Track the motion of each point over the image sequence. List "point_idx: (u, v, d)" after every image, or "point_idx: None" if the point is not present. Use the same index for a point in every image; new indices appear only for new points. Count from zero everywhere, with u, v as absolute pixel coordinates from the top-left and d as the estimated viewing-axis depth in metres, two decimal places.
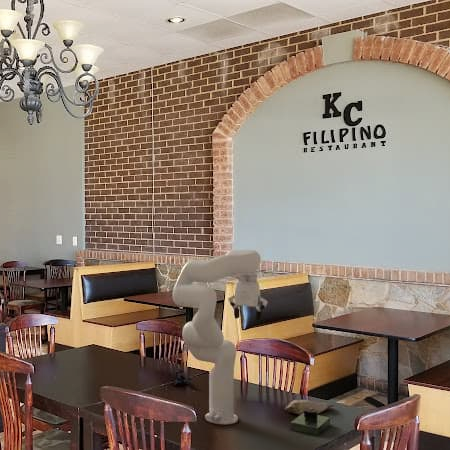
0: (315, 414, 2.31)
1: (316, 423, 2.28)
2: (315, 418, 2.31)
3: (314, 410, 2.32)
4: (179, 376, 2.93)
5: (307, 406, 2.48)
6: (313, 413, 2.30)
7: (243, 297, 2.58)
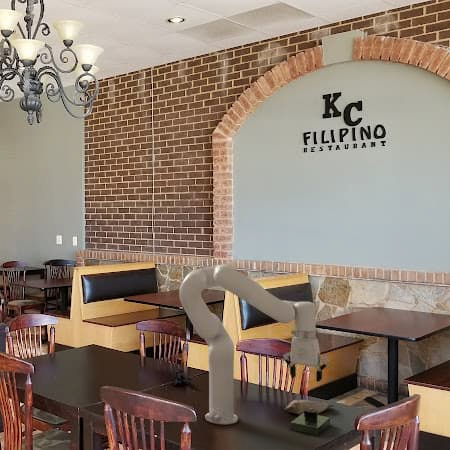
0: (315, 414, 2.31)
1: (316, 423, 2.28)
2: (315, 418, 2.31)
3: (314, 410, 2.32)
4: (179, 376, 2.93)
5: (307, 406, 2.48)
6: (313, 413, 2.30)
7: (301, 355, 2.33)
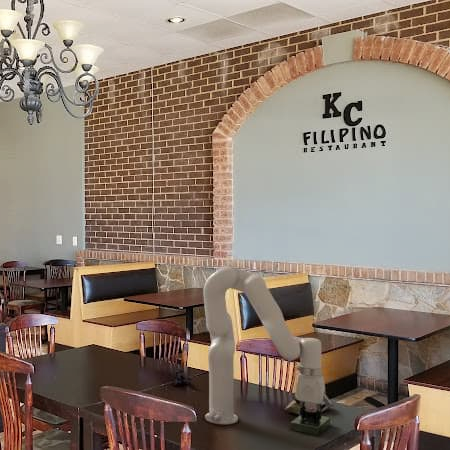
0: (315, 414, 2.31)
1: (316, 423, 2.28)
2: (315, 418, 2.31)
3: (314, 410, 2.32)
4: (179, 376, 2.93)
5: (307, 406, 2.48)
6: (313, 413, 2.30)
7: (306, 392, 2.31)
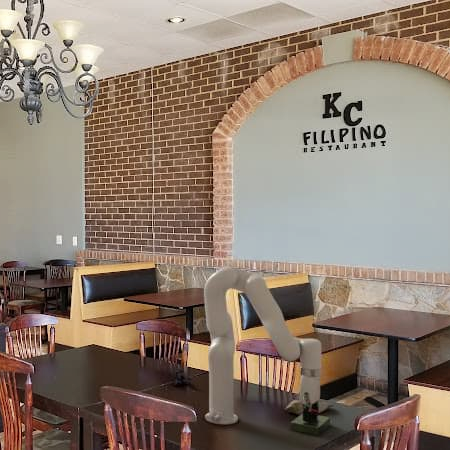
0: None
1: (316, 423, 2.28)
2: None
3: None
4: (179, 376, 2.93)
5: None
6: None
7: None
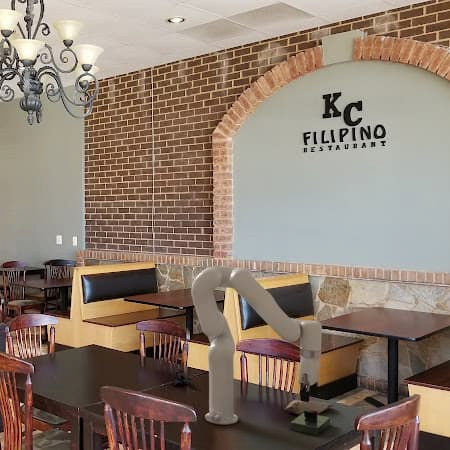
0: (306, 413, 2.32)
1: (316, 423, 2.28)
2: (306, 417, 2.32)
3: (310, 411, 2.31)
4: (179, 376, 2.93)
5: (307, 406, 2.48)
6: (304, 411, 2.33)
7: None
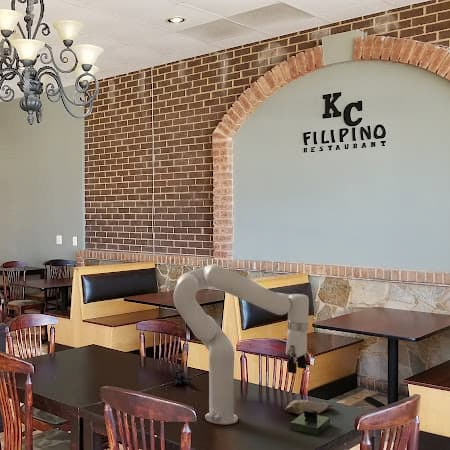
0: (306, 413, 2.32)
1: (316, 423, 2.28)
2: (306, 417, 2.32)
3: (310, 411, 2.31)
4: (179, 376, 2.93)
5: (307, 406, 2.48)
6: (304, 411, 2.33)
7: None
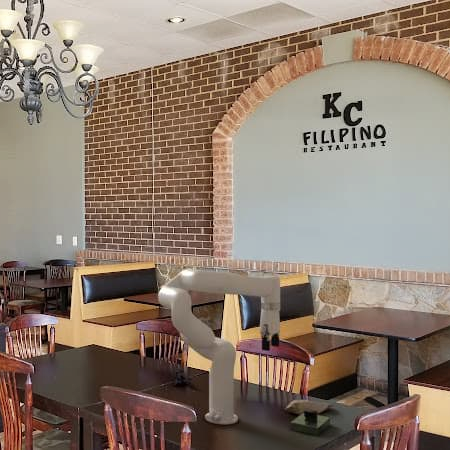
0: (306, 413, 2.32)
1: (316, 423, 2.28)
2: (306, 417, 2.32)
3: (310, 411, 2.31)
4: (179, 376, 2.93)
5: (307, 406, 2.48)
6: (304, 411, 2.33)
7: None
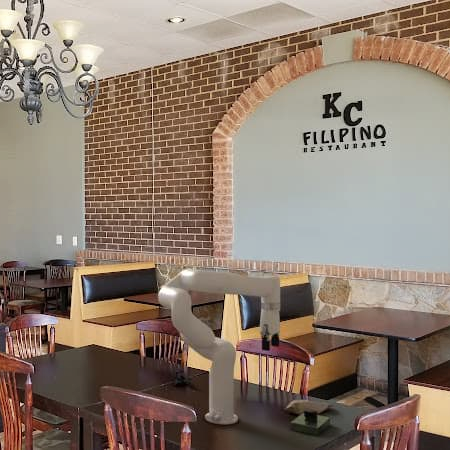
0: (306, 413, 2.32)
1: (316, 423, 2.28)
2: (306, 417, 2.32)
3: (310, 411, 2.31)
4: (179, 376, 2.93)
5: (307, 406, 2.48)
6: (304, 411, 2.33)
7: None
